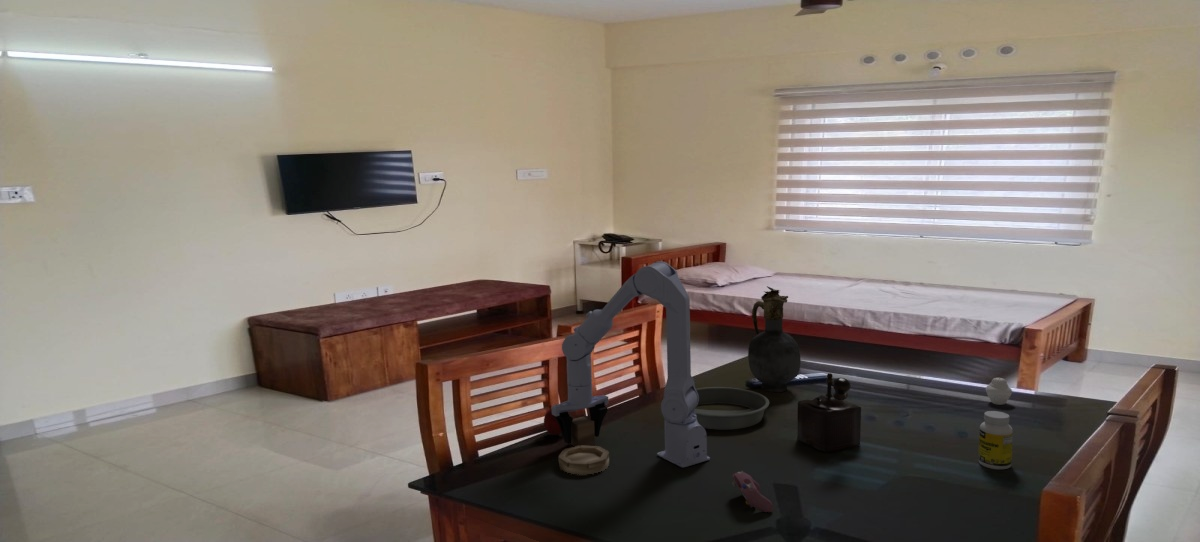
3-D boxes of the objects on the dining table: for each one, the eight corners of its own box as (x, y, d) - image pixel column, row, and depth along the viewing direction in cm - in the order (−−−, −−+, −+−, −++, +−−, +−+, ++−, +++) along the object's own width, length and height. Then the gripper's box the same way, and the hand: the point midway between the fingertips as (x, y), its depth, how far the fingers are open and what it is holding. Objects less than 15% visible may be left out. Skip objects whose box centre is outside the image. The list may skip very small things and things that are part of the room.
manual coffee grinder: (793, 439, 175) (793, 365, 172) (830, 431, 179) (831, 359, 177) (839, 462, 161) (840, 381, 158) (878, 453, 165) (879, 374, 163)
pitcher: (772, 398, 206) (771, 292, 202) (738, 381, 224) (737, 283, 220) (805, 393, 209) (806, 288, 205) (769, 376, 227) (769, 280, 223)
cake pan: (789, 418, 190) (789, 401, 190) (719, 440, 177) (718, 421, 176) (722, 396, 210) (722, 380, 210) (654, 414, 197) (654, 397, 196)
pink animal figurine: (740, 499, 148) (725, 470, 146) (760, 488, 148) (745, 459, 146) (755, 523, 138) (738, 492, 137) (776, 511, 138) (760, 480, 137)
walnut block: (595, 445, 175) (594, 421, 174) (578, 449, 173) (577, 425, 172) (585, 440, 179) (584, 416, 178) (569, 444, 177) (568, 420, 176)
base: (618, 467, 162) (618, 456, 161) (575, 479, 156) (575, 468, 156) (592, 452, 171) (592, 441, 171) (550, 463, 165) (549, 452, 165)
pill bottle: (971, 462, 158) (973, 412, 157) (992, 457, 161) (994, 407, 159) (997, 472, 153) (999, 421, 151) (1018, 467, 155) (1020, 416, 154)
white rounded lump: (987, 398, 200) (988, 373, 199) (1013, 401, 197) (1014, 376, 196) (983, 404, 195) (984, 378, 195) (1009, 408, 192) (1010, 381, 191)
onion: (564, 440, 179) (563, 408, 178) (541, 439, 180) (540, 407, 179) (570, 432, 185) (569, 401, 184) (548, 431, 186) (546, 400, 185)
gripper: (596, 374, 181) (598, 427, 183) (544, 385, 173) (546, 440, 175) (612, 380, 175) (614, 435, 177) (559, 392, 167) (561, 449, 169)
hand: (581, 438), depth 176 cm, fingers open, 7 cm apart
